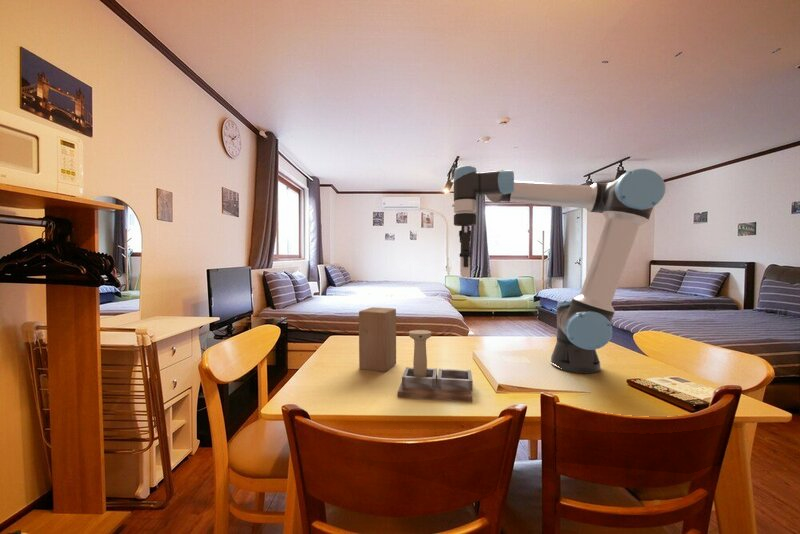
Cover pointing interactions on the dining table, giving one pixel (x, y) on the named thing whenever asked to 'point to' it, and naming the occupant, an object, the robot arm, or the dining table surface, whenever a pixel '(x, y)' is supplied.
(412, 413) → the dining table surface
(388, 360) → the wooden block
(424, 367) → the handle
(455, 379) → the grey double square tray
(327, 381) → the dining table surface
